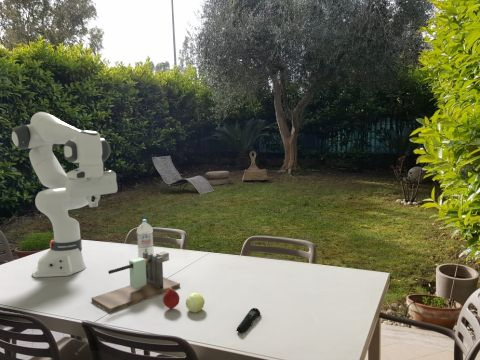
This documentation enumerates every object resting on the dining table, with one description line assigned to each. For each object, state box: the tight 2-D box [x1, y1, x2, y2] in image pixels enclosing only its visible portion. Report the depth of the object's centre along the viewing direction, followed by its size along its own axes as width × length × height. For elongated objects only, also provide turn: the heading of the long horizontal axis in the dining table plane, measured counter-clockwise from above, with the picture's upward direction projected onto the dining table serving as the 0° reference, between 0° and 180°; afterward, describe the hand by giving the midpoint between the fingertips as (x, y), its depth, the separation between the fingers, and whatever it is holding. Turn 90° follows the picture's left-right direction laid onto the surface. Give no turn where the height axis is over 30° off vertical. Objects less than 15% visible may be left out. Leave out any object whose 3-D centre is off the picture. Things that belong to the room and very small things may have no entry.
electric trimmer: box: [235, 307, 261, 333], centre depth 131 cm, size 4×16×3 cm, turn 157°
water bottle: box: [136, 218, 155, 258], centre depth 176 cm, size 7×7×25 cm
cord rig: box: [90, 251, 181, 314], centre depth 155 cm, size 31×14×14 cm, turn 137°
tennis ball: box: [185, 292, 205, 313], centre depth 141 cm, size 6×7×7 cm
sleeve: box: [128, 257, 146, 288], centre depth 156 cm, size 5×4×10 cm
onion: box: [162, 287, 181, 310], centre depth 142 cm, size 6×6×8 cm
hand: (93, 206), depth 158 cm, fingers closed
